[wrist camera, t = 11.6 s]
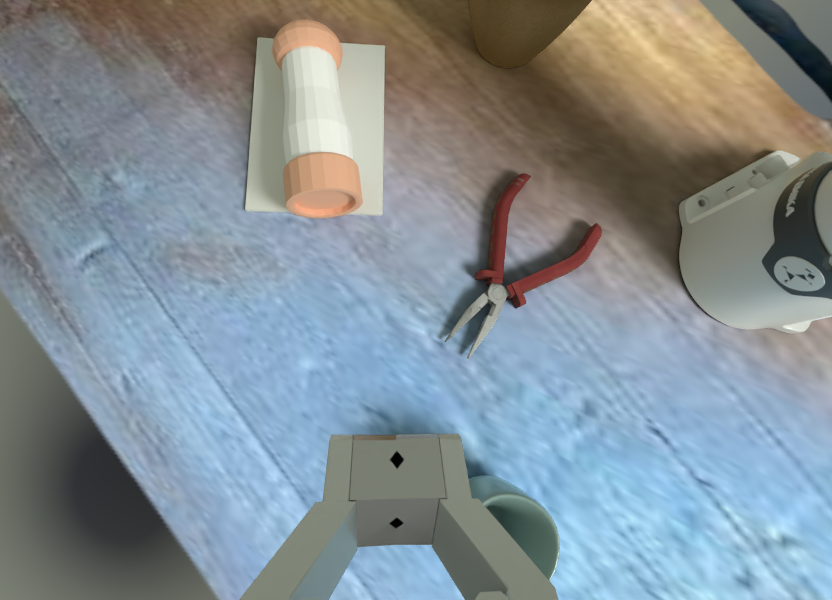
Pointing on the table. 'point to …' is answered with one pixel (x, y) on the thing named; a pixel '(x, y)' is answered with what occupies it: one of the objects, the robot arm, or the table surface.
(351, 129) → the mat
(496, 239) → the pliers
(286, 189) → the pepper shaker
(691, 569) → the table surface
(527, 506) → the cup
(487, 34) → the plant pot
